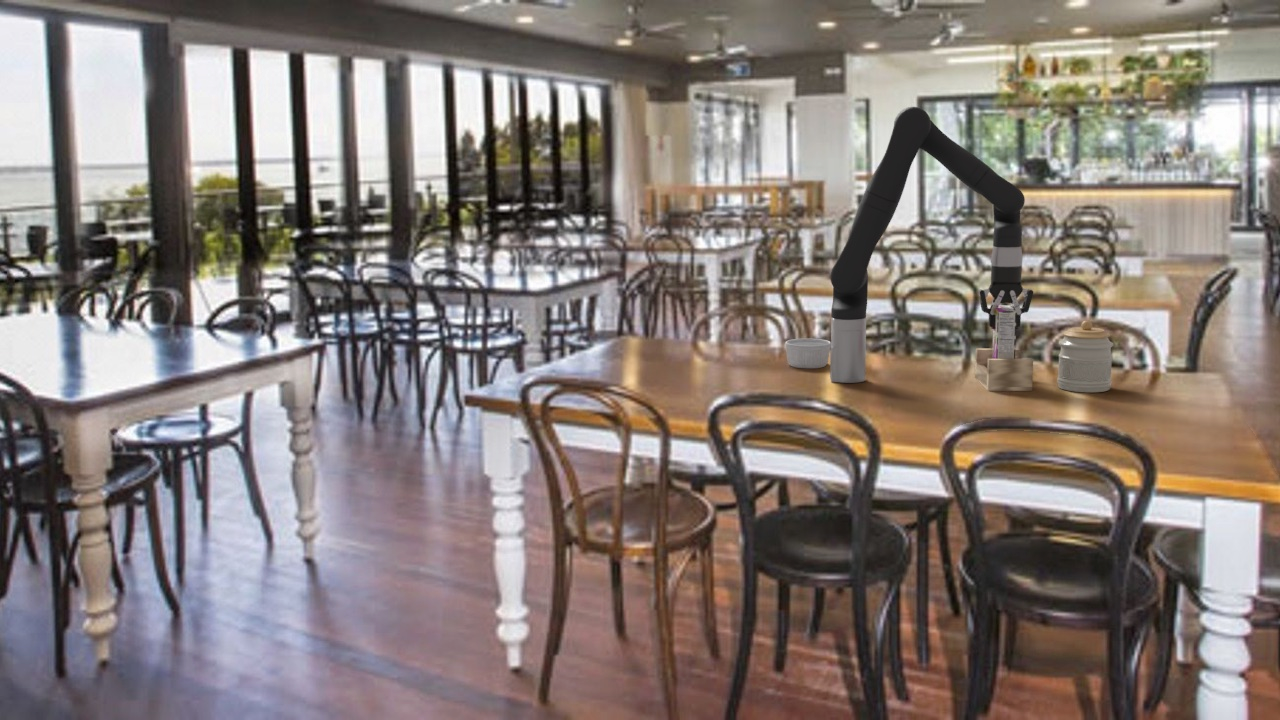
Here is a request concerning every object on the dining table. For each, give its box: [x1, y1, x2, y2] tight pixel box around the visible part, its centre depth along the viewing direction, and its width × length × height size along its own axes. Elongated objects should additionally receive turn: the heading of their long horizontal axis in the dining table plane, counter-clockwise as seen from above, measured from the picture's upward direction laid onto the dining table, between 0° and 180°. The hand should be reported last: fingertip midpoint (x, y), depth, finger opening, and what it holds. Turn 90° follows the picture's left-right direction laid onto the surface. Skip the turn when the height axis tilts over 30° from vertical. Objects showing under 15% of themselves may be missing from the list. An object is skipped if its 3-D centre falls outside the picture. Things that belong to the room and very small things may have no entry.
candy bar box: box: [992, 304, 1017, 359], centre depth 300 cm, size 11×5×16 cm, turn 168°
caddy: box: [974, 347, 1034, 392], centre depth 302 cm, size 11×18×8 cm, turn 174°
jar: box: [1056, 320, 1114, 393], centre depth 293 cm, size 13×13×18 cm
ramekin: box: [784, 338, 831, 369], centre depth 335 cm, size 13×13×7 cm
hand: (1004, 328), depth 300 cm, fingers closed on candy bar box, 5 cm apart
